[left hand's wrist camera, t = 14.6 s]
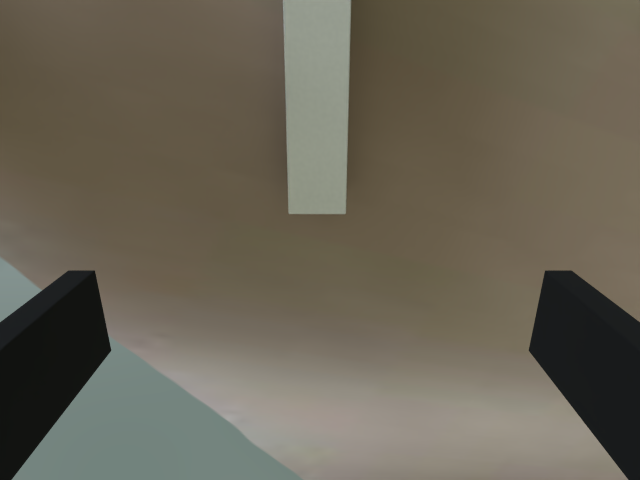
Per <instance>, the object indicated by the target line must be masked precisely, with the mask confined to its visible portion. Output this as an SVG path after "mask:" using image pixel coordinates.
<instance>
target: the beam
mask: <svg viewBox="0 0 640 480" xmlns="http://www.w3.org/2000/svg"><path fill="white" fill-rule="evenodd" d="M283 17H284V57H285V96H286V136H287V175H288V213H289V214H346V193H347V152H348V111H349V70H350V29H351V0H283Z"/></svg>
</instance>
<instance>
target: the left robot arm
mask: <svg viewBox="0 0 640 480" xmlns="http://www.w3.org/2000/svg"><path fill="white" fill-rule="evenodd" d="M110 351H111V347H110V342H109V337H108V333H107V328H106V323H105V318H104V313H103V308H102V303H101V298H100V293H99V289H98V284H97V279H96V274H95V271H67V272H66V273H65V274H63V275H62V276H61V277H60V278H58V279H57V280H56V281H54V282H53V283H52V284H50V285H49V286H48V287H46V288H45V289H44V290H42V291H41V292H40V293H38V294H37V295H36V296H34V297H33V298H32V299H30V300H29V301H28V302H27V303H25V304H24V305H23V306H21V307H20V308H19V309H17V310H16V311H15V312H13V313H12V314H11V315H9V316H8V317H7V318H5V319H4V320H3V321H1V322H0V480H12V478H13V477H14V476H15V474H16V473H17V472H18V471H19V469H20V468H21V467H22V465H23V464H24V463H25V461H26V460H27V459H28V458H29V456H30V455H31V454H32V452H33V451H34V450H35V448H36V447H37V446H38V445H39V443H40V442H41V441H42V439H43V438H44V437H45V436H46V434H47V433H48V432H49V430H50V429H51V428H52V427H53V425H54V424H55V423H56V421H57V420H58V419H59V417H60V416H61V415H62V414H63V412H64V411H65V410H66V408H67V407H68V406H69V405H70V403H71V402H72V401H73V399H74V398H75V397H76V395H77V394H78V393H79V392H80V390H81V389H82V388H83V386H84V385H85V384H86V383H87V381H88V380H89V379H90V377H91V376H92V375H93V373H94V372H95V371H96V370H97V368H98V367H99V366H100V364H101V363H102V362H103V360H104V359H105V358H106V357H107V355H108V354H109V353H110ZM529 351H530V353H531V354H532V355H533V357H534V358H535V359H536V360H537V362H538V363H539V364H540V366H541V367H542V368H543V370H544V371H545V372H546V373H547V375H548V376H549V377H550V379H551V380H552V381H553V383H554V384H555V385H556V386H557V388H558V389H559V390H560V392H561V393H562V394H563V395H564V397H565V398H566V399H567V401H568V402H569V403H570V405H571V406H572V407H573V408H574V410H575V411H576V412H577V414H578V415H579V416H580V417H581V419H582V420H583V421H584V423H585V424H586V425H587V427H588V428H589V429H590V430H591V432H592V433H593V434H594V436H595V437H596V438H597V439H598V441H599V442H600V443H601V445H602V446H603V447H604V449H605V450H606V451H607V452H608V454H609V455H610V456H611V458H612V459H613V460H614V462H615V463H616V464H617V465H618V467H619V468H620V469H621V471H622V472H623V473H624V474H625V476H626V477H627V478H628V480H640V322H639V321H637V320H636V319H635V318H633V317H632V316H631V315H629V314H628V313H627V312H625V311H624V310H623V309H621V308H620V307H619V306H617V305H616V304H615V303H613V302H612V301H611V300H610V299H608V298H607V297H606V296H604V295H603V294H602V293H600V292H599V291H598V290H596V289H595V288H594V287H592V286H591V285H590V284H588V283H587V282H586V281H584V280H583V279H582V278H580V277H579V276H578V275H577V274H575V273H574V272H573V271H545V274H544V279H543V284H542V289H541V293H540V298H539V303H538V308H537V313H536V318H535V323H534V328H533V333H532V337H531V342H530V347H529Z"/></svg>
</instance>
